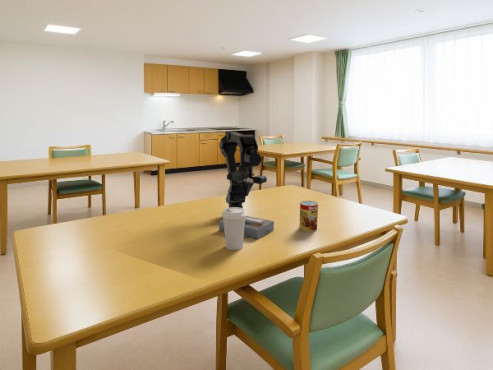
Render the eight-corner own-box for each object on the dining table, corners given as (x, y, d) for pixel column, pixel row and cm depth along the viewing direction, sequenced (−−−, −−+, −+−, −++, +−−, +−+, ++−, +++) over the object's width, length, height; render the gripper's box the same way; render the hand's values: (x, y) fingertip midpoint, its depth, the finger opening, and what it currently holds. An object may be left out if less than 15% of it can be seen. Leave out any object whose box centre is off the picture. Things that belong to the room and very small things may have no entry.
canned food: (313, 232, 160) (314, 206, 157) (296, 229, 164) (297, 203, 161) (319, 227, 166) (320, 202, 164) (303, 224, 170) (304, 199, 168)
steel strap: (229, 218, 165) (229, 216, 165) (233, 216, 168) (233, 214, 167) (260, 223, 156) (260, 222, 156) (263, 222, 159) (263, 220, 159)
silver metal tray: (218, 230, 163) (218, 217, 161) (237, 222, 174) (237, 210, 173) (257, 239, 152) (257, 225, 151) (273, 229, 163) (274, 217, 162)
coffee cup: (221, 242, 148) (221, 206, 145) (245, 242, 149) (245, 206, 146) (222, 252, 139) (221, 213, 135) (247, 251, 139) (247, 213, 136)
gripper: (219, 163, 166) (219, 196, 169) (254, 167, 156) (254, 202, 159) (233, 160, 175) (233, 192, 178) (267, 163, 165) (267, 197, 168)
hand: (246, 195), depth 171 cm, fingers closed
